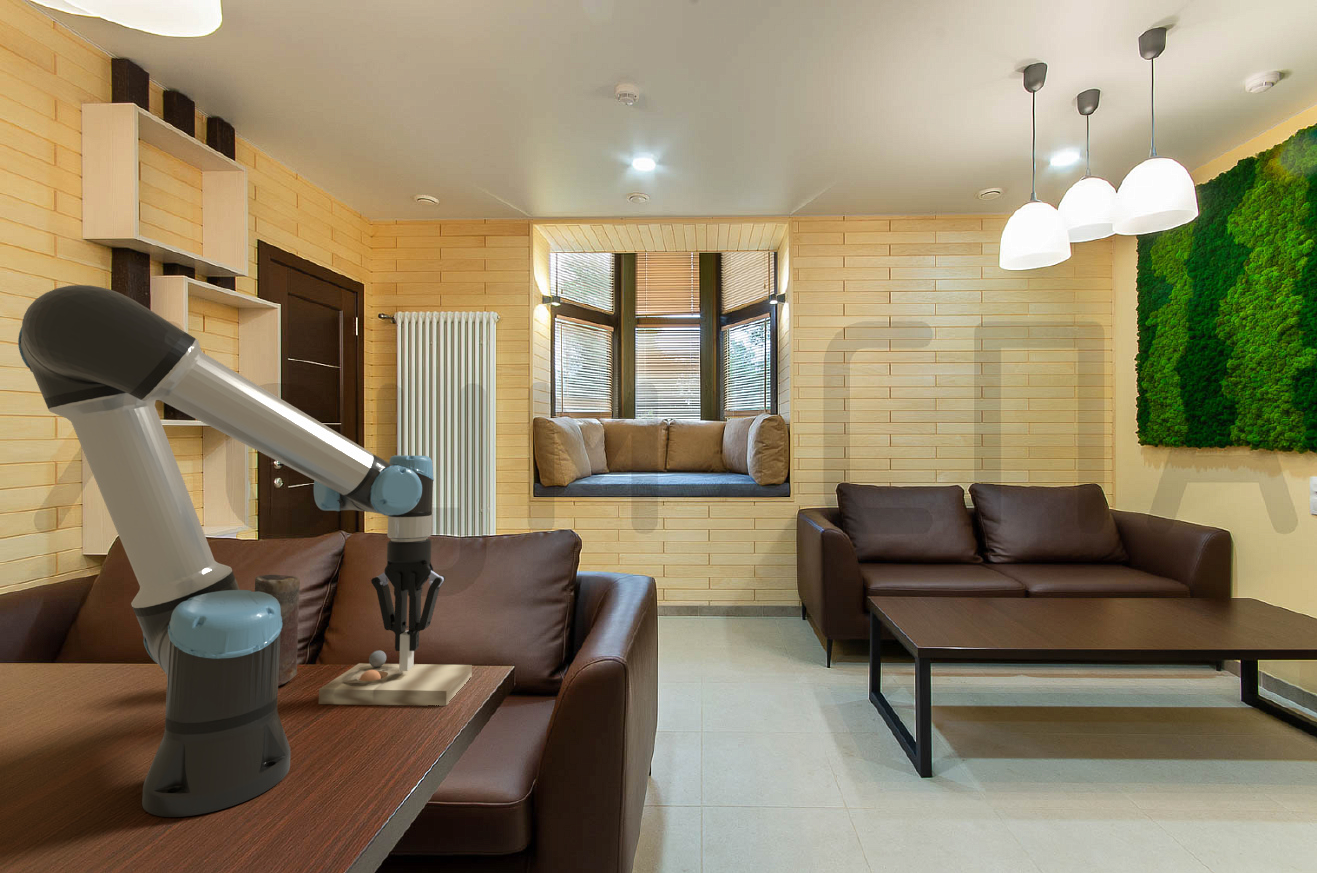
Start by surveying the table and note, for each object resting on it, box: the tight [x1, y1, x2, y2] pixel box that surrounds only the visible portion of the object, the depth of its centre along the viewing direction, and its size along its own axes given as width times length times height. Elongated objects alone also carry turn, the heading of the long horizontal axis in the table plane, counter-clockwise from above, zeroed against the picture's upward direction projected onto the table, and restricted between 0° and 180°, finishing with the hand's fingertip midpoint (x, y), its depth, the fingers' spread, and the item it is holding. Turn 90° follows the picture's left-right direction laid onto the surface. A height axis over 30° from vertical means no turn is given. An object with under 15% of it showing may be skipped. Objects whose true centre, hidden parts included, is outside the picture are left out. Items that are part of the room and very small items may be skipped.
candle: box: [254, 574, 301, 687], centre depth 109 cm, size 8×7×20 cm
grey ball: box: [368, 649, 387, 667], centre depth 111 cm, size 3×3×3 cm
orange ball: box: [360, 670, 381, 681], centre depth 106 cm, size 4×4×4 cm
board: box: [318, 662, 473, 707], centre depth 106 cm, size 22×13×2 cm, turn 89°
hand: (406, 668), depth 106 cm, fingers closed
